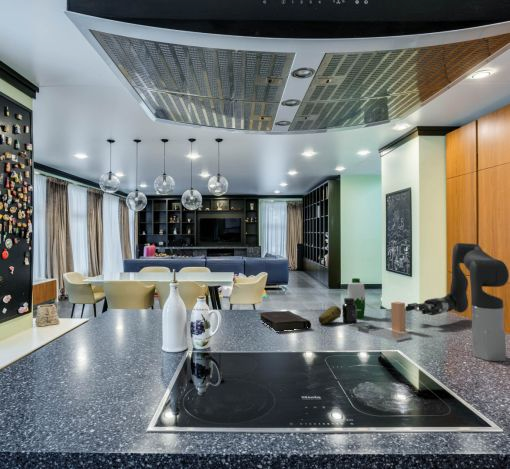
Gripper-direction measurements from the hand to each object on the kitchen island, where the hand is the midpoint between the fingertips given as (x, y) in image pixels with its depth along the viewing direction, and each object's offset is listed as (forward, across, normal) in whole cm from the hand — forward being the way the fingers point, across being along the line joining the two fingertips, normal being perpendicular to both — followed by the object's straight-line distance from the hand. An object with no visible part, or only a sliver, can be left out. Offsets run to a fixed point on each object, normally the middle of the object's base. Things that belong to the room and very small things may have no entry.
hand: (414, 310), depth 162 cm
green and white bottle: (+3, -32, +9) cm, 34 cm away
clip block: (+11, 0, +7) cm, 14 cm away
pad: (+11, 0, +8) cm, 14 cm away
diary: (+46, -39, +9) cm, 61 cm away
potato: (+25, -29, +8) cm, 39 cm away
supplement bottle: (+16, -24, +8) cm, 30 cm away
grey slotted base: (+22, -2, +8) cm, 24 cm away
